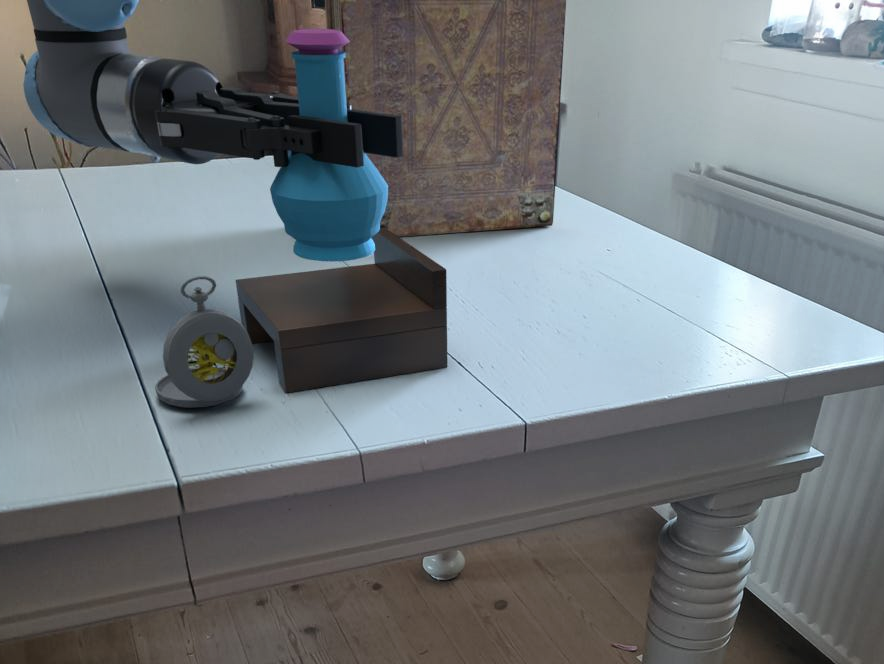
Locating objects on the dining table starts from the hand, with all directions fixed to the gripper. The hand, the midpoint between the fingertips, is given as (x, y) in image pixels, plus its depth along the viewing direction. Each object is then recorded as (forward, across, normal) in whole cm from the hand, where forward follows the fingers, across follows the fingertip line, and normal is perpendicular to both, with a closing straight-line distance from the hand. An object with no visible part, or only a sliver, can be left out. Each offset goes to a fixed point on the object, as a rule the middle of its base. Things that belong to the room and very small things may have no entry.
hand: (379, 141), depth 68 cm
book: (-24, -41, -17) cm, 51 cm away
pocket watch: (-7, +14, -17) cm, 23 cm away
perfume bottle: (-5, 0, -9) cm, 10 cm away
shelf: (-5, 0, -17) cm, 18 cm away
